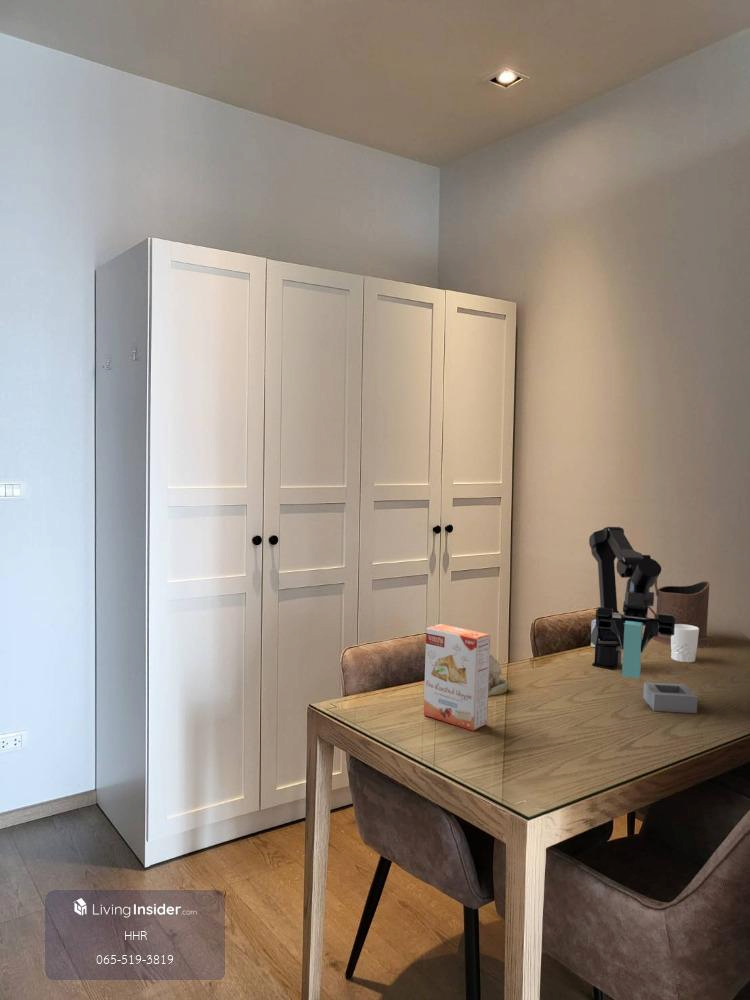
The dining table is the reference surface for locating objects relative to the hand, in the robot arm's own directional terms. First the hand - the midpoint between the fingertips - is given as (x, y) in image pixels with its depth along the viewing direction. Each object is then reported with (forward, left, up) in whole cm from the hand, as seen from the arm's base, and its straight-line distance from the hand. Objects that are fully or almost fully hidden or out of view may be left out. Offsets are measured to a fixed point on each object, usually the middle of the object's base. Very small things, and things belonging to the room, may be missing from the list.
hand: (632, 650), depth 188 cm
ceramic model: (-34, -15, -14) cm, 39 cm away
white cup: (-2, +53, -14) cm, 55 cm away
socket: (+8, +6, -14) cm, 17 cm away
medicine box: (-27, +52, -14) cm, 61 cm away
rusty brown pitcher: (-12, +75, -14) cm, 77 cm away
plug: (0, +1, -7) cm, 7 cm away
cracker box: (-26, -39, -14) cm, 49 cm away
